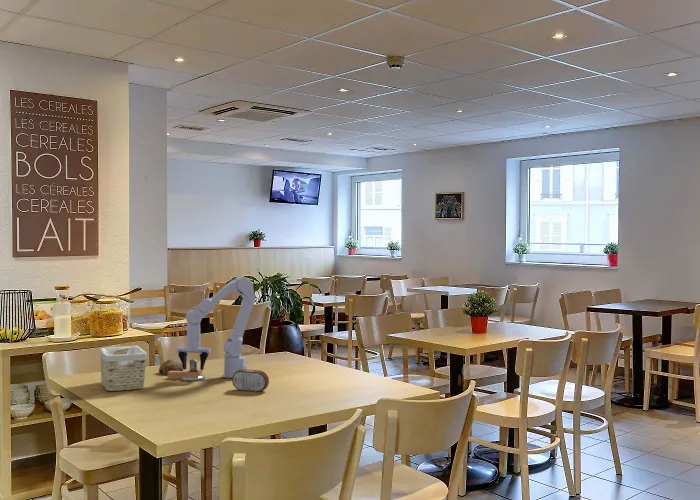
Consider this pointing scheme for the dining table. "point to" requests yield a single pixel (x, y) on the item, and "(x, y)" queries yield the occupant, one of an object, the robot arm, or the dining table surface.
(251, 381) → the tin
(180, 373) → the bracket
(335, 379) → the dining table surface
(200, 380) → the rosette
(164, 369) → the bread roll
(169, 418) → the dining table surface
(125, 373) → the storage basket
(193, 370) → the pin
